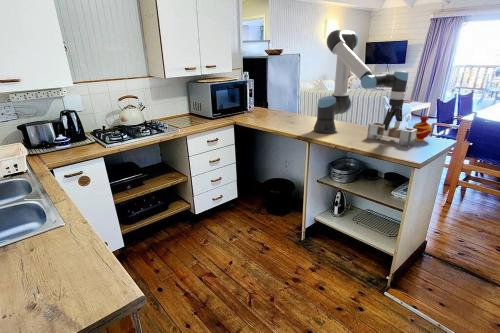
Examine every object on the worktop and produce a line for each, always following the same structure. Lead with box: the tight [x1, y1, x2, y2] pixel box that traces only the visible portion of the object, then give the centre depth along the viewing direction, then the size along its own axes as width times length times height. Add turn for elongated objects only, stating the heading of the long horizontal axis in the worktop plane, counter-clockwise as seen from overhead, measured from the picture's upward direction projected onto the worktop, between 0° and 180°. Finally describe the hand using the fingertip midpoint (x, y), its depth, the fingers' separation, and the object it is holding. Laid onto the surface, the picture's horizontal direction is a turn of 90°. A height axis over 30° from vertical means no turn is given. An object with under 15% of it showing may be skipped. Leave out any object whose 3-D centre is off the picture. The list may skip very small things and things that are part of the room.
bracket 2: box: [398, 127, 418, 148], centre depth 173 cm, size 6×8×9 cm
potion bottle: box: [412, 115, 433, 142], centre depth 180 cm, size 10×10×15 cm
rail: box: [378, 125, 410, 139], centre depth 180 cm, size 20×4×5 cm, turn 42°
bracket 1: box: [366, 121, 385, 141], centre depth 187 cm, size 6×8×9 cm
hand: (390, 133), depth 181 cm, fingers open, 13 cm apart
